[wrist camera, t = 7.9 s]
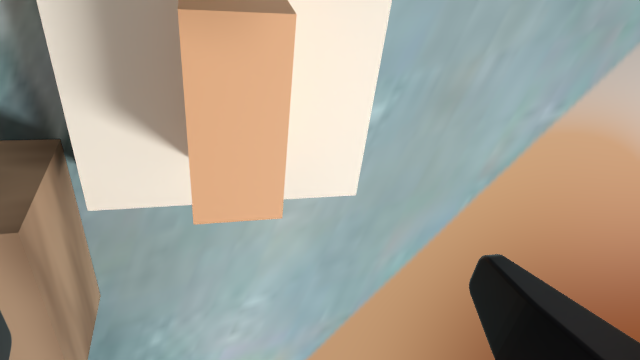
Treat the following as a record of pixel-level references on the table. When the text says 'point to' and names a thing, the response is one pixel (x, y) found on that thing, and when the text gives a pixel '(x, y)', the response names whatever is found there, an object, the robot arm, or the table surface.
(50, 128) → the table surface
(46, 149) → the walnut box
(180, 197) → the lid
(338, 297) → the table surface
